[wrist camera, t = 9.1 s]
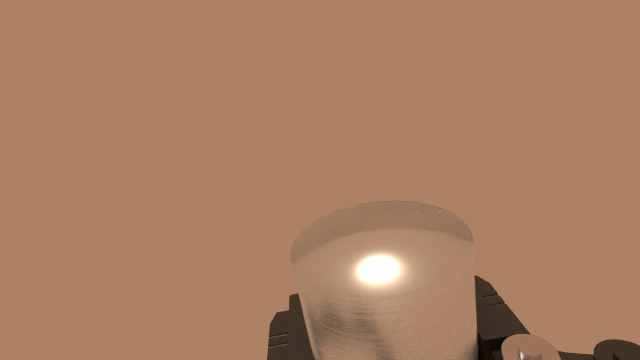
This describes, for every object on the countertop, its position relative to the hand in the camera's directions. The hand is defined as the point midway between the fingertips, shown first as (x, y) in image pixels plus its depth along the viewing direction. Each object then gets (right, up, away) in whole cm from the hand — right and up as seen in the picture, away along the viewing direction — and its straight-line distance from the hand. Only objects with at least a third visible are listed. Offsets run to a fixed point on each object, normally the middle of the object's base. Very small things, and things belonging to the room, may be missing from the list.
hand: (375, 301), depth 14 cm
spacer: (+1, -7, 0) cm, 7 cm away
